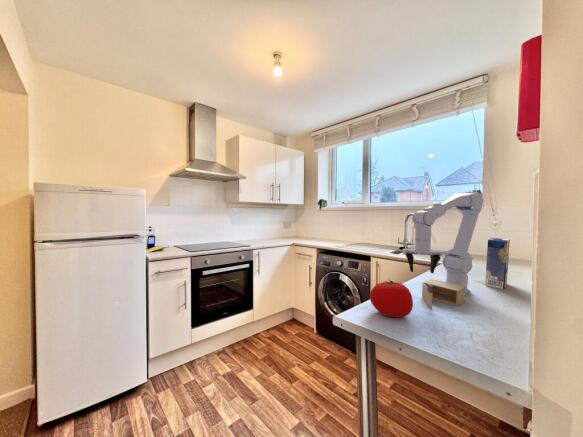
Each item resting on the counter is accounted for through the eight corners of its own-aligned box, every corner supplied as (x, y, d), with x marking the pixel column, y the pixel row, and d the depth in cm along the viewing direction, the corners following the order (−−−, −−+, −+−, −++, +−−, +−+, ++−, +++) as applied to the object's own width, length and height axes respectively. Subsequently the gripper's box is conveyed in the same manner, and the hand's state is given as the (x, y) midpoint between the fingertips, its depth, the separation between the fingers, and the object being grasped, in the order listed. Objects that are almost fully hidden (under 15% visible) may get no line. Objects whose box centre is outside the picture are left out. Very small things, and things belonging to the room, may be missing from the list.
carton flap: (423, 296, 100) (424, 277, 99) (432, 308, 88) (433, 286, 88) (420, 296, 100) (421, 276, 99) (429, 308, 88) (430, 286, 88)
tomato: (406, 327, 75) (408, 291, 74) (364, 314, 84) (365, 282, 83) (416, 313, 84) (418, 282, 84) (378, 303, 93) (379, 274, 93)
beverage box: (506, 283, 117) (509, 239, 116) (504, 289, 110) (507, 241, 108) (489, 280, 122) (491, 237, 121) (485, 285, 115) (487, 239, 113)
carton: (430, 292, 106) (431, 278, 105) (464, 301, 96) (465, 286, 95) (422, 296, 101) (423, 282, 100) (457, 306, 91) (458, 290, 90)
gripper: (405, 240, 97) (404, 273, 98) (446, 242, 93) (444, 276, 94) (402, 238, 104) (401, 268, 105) (440, 239, 100) (438, 271, 101)
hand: (421, 272), depth 100 cm, fingers open, 7 cm apart
